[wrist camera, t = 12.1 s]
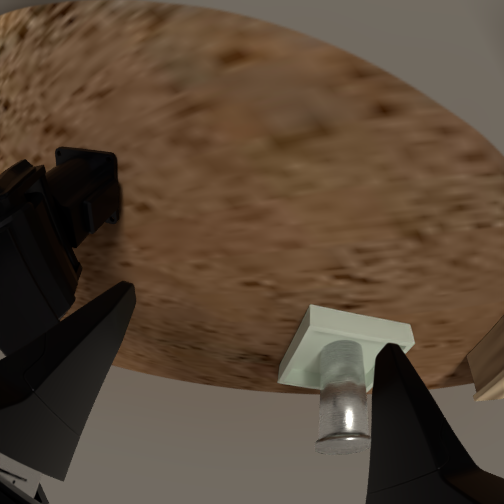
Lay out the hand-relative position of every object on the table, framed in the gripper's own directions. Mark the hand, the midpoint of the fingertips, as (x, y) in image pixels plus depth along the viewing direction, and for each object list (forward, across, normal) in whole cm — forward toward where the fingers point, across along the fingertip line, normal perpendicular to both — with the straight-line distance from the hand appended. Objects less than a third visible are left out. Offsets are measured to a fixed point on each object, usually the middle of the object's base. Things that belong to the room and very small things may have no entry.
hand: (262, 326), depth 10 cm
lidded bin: (+13, -34, +11) cm, 38 cm away
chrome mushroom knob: (+12, -11, +17) cm, 24 cm away
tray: (+13, -11, +17) cm, 24 cm away
